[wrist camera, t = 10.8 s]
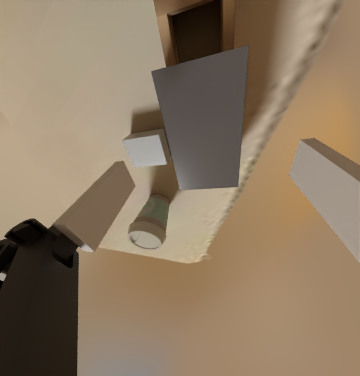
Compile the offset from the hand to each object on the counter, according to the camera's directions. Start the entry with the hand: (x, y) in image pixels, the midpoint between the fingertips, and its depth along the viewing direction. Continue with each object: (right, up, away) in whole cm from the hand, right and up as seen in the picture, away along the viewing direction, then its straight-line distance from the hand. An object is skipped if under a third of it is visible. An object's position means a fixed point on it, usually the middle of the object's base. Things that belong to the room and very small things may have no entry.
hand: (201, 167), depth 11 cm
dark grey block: (+2, +9, +12) cm, 16 cm away
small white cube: (-8, +7, +17) cm, 20 cm away
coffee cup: (-7, -5, +28) cm, 29 cm away
